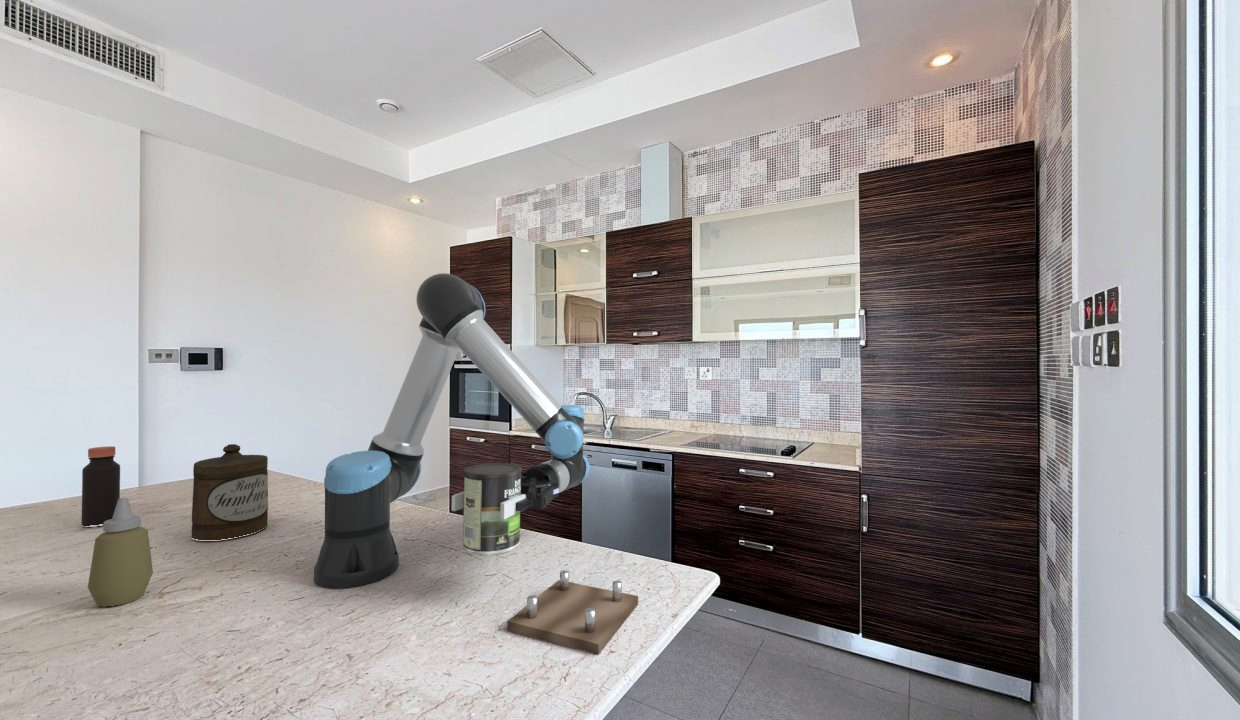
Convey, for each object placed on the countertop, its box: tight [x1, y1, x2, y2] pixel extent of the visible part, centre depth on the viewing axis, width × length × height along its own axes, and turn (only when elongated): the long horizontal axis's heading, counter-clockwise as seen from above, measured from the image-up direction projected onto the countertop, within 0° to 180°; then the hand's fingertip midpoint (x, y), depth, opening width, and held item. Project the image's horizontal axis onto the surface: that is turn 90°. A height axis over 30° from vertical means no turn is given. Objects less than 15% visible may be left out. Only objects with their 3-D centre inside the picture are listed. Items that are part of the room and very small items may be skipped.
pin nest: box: [506, 569, 639, 655], centre depth 81 cm, size 16×16×4 cm
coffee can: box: [462, 462, 523, 556], centre depth 89 cm, size 10×10×14 cm
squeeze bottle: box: [87, 497, 154, 608], centre depth 86 cm, size 8×8×18 cm
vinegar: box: [81, 446, 121, 526], centre depth 127 cm, size 7×7×20 cm
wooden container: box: [191, 443, 269, 540], centre depth 121 cm, size 15×15×22 cm
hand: (477, 507), depth 85 cm, fingers closed on coffee can, 10 cm apart
